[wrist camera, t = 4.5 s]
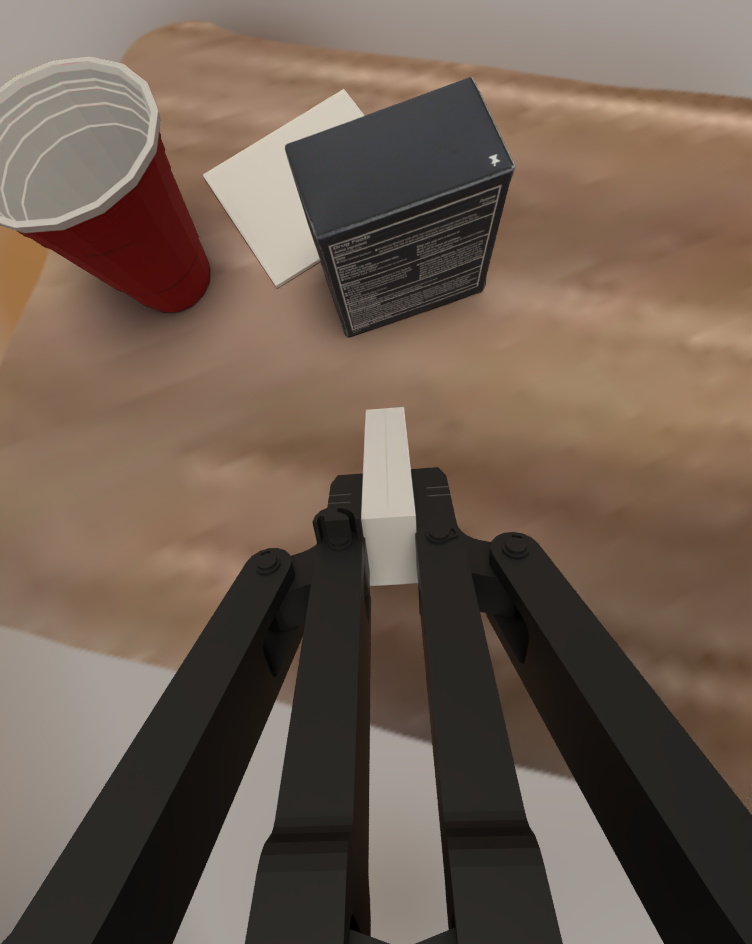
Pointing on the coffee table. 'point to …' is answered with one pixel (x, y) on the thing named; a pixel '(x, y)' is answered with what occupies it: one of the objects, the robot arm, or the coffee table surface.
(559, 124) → the coffee table surface
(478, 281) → the small box
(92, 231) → the plastic cup
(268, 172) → the mat
